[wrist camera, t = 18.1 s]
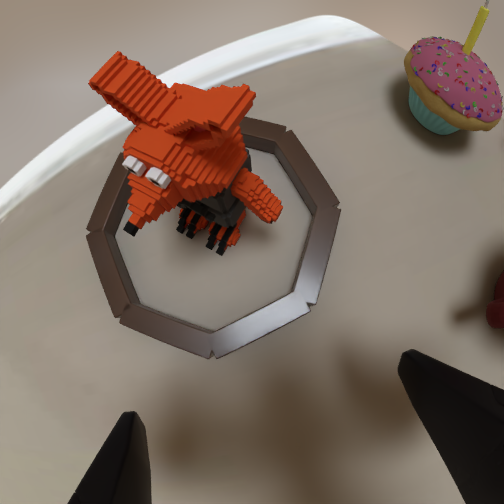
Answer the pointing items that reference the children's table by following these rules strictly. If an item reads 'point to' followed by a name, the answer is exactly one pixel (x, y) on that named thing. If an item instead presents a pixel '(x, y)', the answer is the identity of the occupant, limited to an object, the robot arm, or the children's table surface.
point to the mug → (497, 305)
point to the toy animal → (185, 152)
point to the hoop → (255, 323)
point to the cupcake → (452, 84)
